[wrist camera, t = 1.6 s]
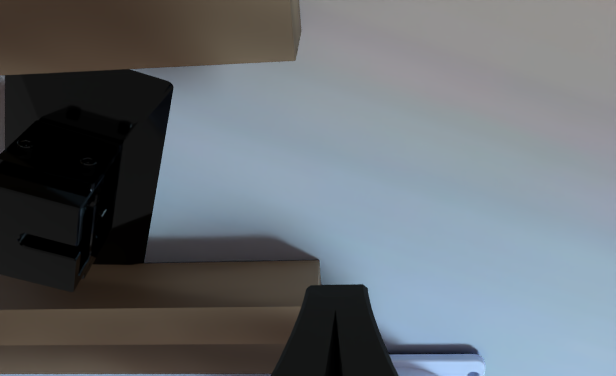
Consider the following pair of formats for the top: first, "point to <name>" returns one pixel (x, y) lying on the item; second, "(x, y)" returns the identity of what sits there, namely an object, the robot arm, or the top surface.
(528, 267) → the top surface
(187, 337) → the wooden stepped rails
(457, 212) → the top surface
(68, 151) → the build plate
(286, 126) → the top surface
